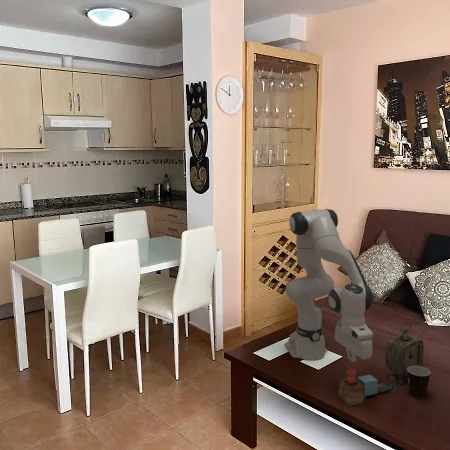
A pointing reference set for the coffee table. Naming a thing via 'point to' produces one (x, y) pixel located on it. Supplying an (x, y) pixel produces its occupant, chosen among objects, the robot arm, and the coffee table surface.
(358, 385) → the wooden box
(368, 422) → the coffee table surface
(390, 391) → the rail
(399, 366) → the tabletop clock
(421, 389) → the coffee mug
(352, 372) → the red rounded peg
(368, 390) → the block
